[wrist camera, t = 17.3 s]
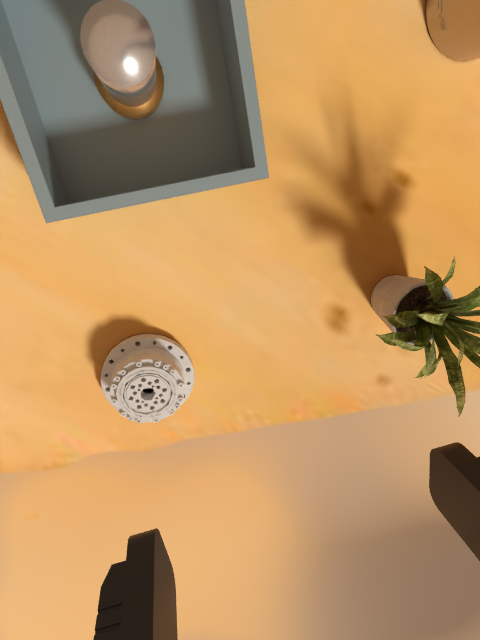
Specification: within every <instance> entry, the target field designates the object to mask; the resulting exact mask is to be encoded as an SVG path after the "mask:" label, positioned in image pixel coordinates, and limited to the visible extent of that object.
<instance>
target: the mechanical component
mask: <svg viewBox="0 0 480 640" xmlns="http://www.w3.org/2000/svg"><path fill="white" fill-rule="evenodd" d="M138 341H139V342H138ZM170 345H171V346H170ZM193 385H194V369H193V365H192V361H191V359H190V357H189V355H188V353H187V352H186V350H185V349H184V348H183V347H182V346H181V345H180V344H178V343H177V342H176V341H174V340H172V339H169V338H167V337H165V336H162V335H155V334H141V335H136V336H132V337H130V338H128V339H125V340H123V341H122V342H120V343H119V344H118V345H117V346H115V347H114V348H113V349H112V350H111V351H110V353H109V354H108V356H107V358H106V359H105V361H104V364H103V367H102V371H101V386H102V390H103V392H104V395H105V397H106V399H107V400H108V401H109V402H110V403H111V405H112V406H114V407H115V408H116V409H117V410H118V411H119V412H120V413H121V416H122V417H127V418H128V420H129V421H132V420H134V421H136V422H137V423H141V422H155V423H157V422H159V420H162V419H164V418H166V417H168V416H169V415H173V414H174V412H175V411H176V409H178V408H179V407H180V406H181V405H182V404H183V403H184V402H185V400H186V399H187V398H188V396H189V395H190V392H191V390H192V387H193ZM146 388H153V389H146Z"/></svg>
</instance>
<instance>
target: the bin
mask: <svg viewBox="0 0 480 640" xmlns="http://www.w3.org/2000/svg"><path fill="white" fill-rule="evenodd" d="M100 1H102V0H0V100H1V102H2V105H3V108H4V111H5V113H6V116H7V119H8V121H9V124H10V127H11V130H12V132H13V135H14V138H15V140H16V143H17V146H18V148H19V151H20V154H21V157H22V159H23V162H24V165H25V167H26V170H27V173H28V175H29V178H30V181H31V184H32V186H33V189H34V192H35V194H36V197H37V200H38V203H39V205H40V208H41V211H42V213H43V216H44V219H45V221H46V223H50V222H54V221H59V220H64V219H69V218H74V217H79V216H84V215H89V214H94V213H99V212H103V211H108V210H113V209H118V208H123V207H128V206H133V205H138V204H143V203H148V202H152V201H157V200H162V199H167V198H172V197H177V196H182V195H187V194H192V193H197V192H202V191H206V190H211V189H216V188H221V187H226V186H231V185H236V184H241V183H246V182H251V181H255V180H260V179H265V178H269V174H268V166H267V159H266V152H265V145H264V138H263V131H262V123H261V116H260V109H259V102H258V95H257V88H256V81H255V73H254V66H253V59H252V52H251V45H250V38H249V30H248V23H247V16H246V9H245V2H244V0H122V1H125V2H128V3H129V4H131V5H133V6H134V7H135V8H137V9H138V10H139V11H140V12H141V13H142V14H143V15H144V17H145V18H146V19H147V21H148V23H149V25H150V26H151V29H152V31H153V35H154V39H155V49H156V56H157V58H158V60H159V62H160V64H161V67H162V70H163V75H164V92H163V98H162V101H161V104H160V106H159V107H158V109H157V110H156V111H155V112H154V113H153V114H152V115H151V116H149V117H147V118H145V119H141V120H130V119H126V118H124V117H121V116H120V115H118V114H116V113H115V112H114V111H113V110H112V109H111V108H110V107H109V106H108V105H107V103H106V102H105V101H104V99H103V98H102V97H101V95H100V93H99V91H98V89H97V86H96V83H95V79H94V70H93V69H92V67H91V66H90V64H89V63H88V61H87V59H86V57H85V55H84V52H83V49H82V45H81V38H80V31H81V25H82V21H83V19H84V16H85V15H86V13H87V11H88V10H89V9H90V8H91V7H92V6H93V5H94V4H96V3H98V2H100Z"/></svg>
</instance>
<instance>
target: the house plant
mask: <svg viewBox="0 0 480 640" xmlns="http://www.w3.org/2000/svg"><path fill="white" fill-rule="evenodd" d="M424 267H425V266H424ZM454 268H455V256H454V258H453V261H452V265H451V267H450V270H449V272H448V274H447V276H446V277H445V279H444V280H443V281H442V280H441V278H440V277H439V276H438V274H436V273H434V272H433V271H431V270H430V269H428V268H426V267H425V269H426V274H425V280H424V279H418V278H412V277H406V276H400V275H391V276H387V277H385V278H383V279H382V280H381V281H379V282H378V283H377V285H376V286H375V287H374V289H373V291H372V295H371V305H372V308H373V310H374V311H375V313H376V314H377V315H378V316H379V317H380V318H381V319H382V321H383V322H384V323H385V324H386V325H387V326H388V327H389V329H390V330H391V331H392V332H393V333H388V334H385V335H377V334H375V335H377V336H379V337H380V338H381V339H382V340H383V341H384V342H385V343H387V344H389V345H394V346H397V345H398V346H399V347H400V348H402V349H406V350H410V351H417V350H420V349H422V348H425V356H426V365H425V366H424V367H423V368H422V370H421V371H420V373H419V374H418V376H417V377H415V378H419V377H421V376H422V377H423V376H424V375H425V374H426V377H427V376H429V375H430V374H432V373H434V371H435V369H436V366H437V364H438V362H439V361H440V359H441V357H443V360H444V363H445V366H446V370H447V375H448V380H449V383H450V385H451V387H452V389H453V391H454V393H455V395H456V400H457V408H458V412H459V416H460V414H461V412H462V410H463V407H464V403H465V386H464V381H463V376H462V371H461V367H460V362H461V360H462V358H463V354H465V355H466V356H467V357H468V358H469V359H470V360H471V361H472V362H473V363H474V364H475V365H476V366H478V367H479V368H480V357H479V356H478V355H477V354H476V353H478V354H480V338H479V337H477V336H474V335H472V334H469V333H467V332H465V331H468V332H472V333H477V334H480V322H475V321H470V320H465V319H460V318H458V317H455V316H479V315H480V310H475V311H470V310H472V309H474V308H476V307H479V306H480V286H479V287H478V288H476V289H475V290H474V291H472V292H471V293H469V294H468V295H466V296H464V297H461V298H458V299H453V295H452V294H451V292H450V290H449V289H448V288H447V287H446V286H445V285H444V284H445V283H447V282H448V281H449V280H450V278H451V277H452V276H453V273H454ZM459 328H460V329H459ZM461 329H462V330H461ZM463 330H465V331H463ZM444 335H445V336H446V337H447V338H448V339H449V340H450V342H451V343H452V344H453V345H454V346H455V347H457V348H458V349H459V356H458V359H457V357H456V356H455V354H454V353H453V352H452V350H451V348H450V346H449V343H448V341H447V339H446V337H445V336H444ZM432 340H433V342H432V345H431V343H430V341H432ZM434 340H435V342H436V344H437V347H438V350H439V356H438V359H436V350H435V344H434ZM413 345H414V346H413ZM475 352H476V353H475ZM424 378H425V377H424Z"/></svg>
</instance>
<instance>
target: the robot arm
mask: <svg viewBox="0 0 480 640" xmlns="http://www.w3.org/2000/svg"><path fill="white" fill-rule="evenodd" d="M426 16H427V25H428V29H429V33H430V36H431V38H432V40H433V43H434V45H435V46H436V47H437V48H438V50H439V51H440V52H441V53H442V54H443V55H445V56H446V57H447V58H450V59H452V60H455V61H462V62H466V61H471V60H475V59H478V58H480V0H427V6H426ZM429 488H430V493H431V496H432V499H433V501H434V503H435V505H436V506H437V508H438V509H439V511H440V512H441V513H442V514H443V516H444V517H445V518H446V519H447V521H448V522H449V523H450V524H451V526H452V527H453V528H454V529H455V531H456V532H457V533H458V534H459V536H460V537H461V538H462V539H463V541H464V542H465V543H466V544H467V546H468V547H469V548H470V549H471V551H472V552H473V553H474V554H475V556H476V557H477V558H478V559H479V561H480V457H477V458H476V457H475V456H474V455H473V454H472V453H471V452H470V451H469V450H468V449H467V448H465V446H463V445H462V444H460V443H452V444H449V445H446V446H442V447H438V448H435V449H432V450H431V452H430V479H429ZM94 640H177V612H176V588H175V578H174V573H173V568H172V564H171V562H170V559H169V556H168V553H167V551H166V548H165V546H164V543H163V540H162V537H161V535H160V532H159V530H158V529H157V528H156V529H153V530H150V531H146V532H143V533H139V534H136V535H132V536H130V537H129V539H128V546H127V557H126V561H123V562H119V563H116V564H113V565H112V566H111V568H110V570H109V572H108V574H107V576H106V578H105V580H104V582H103V584H102V586H101V591H100V598H99V605H98V615H97V619H96V626H95V635H94Z"/></svg>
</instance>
